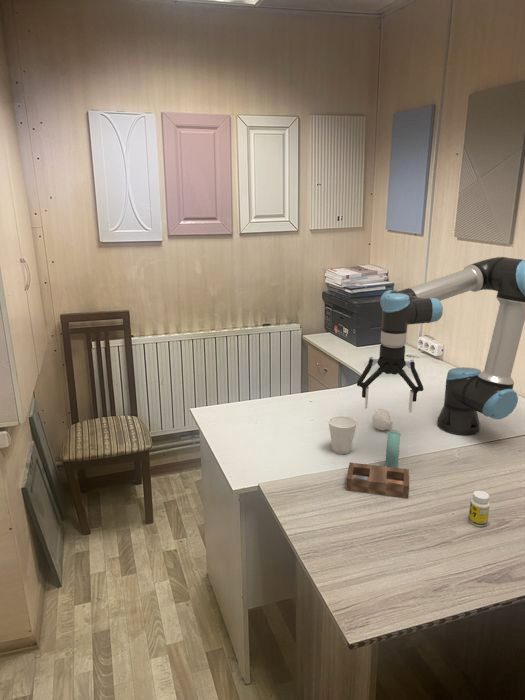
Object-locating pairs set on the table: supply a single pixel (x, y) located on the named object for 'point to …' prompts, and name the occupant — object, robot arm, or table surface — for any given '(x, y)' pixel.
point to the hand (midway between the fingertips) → (387, 408)
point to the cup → (342, 433)
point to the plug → (392, 449)
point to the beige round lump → (382, 420)
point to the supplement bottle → (479, 508)
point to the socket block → (378, 480)
